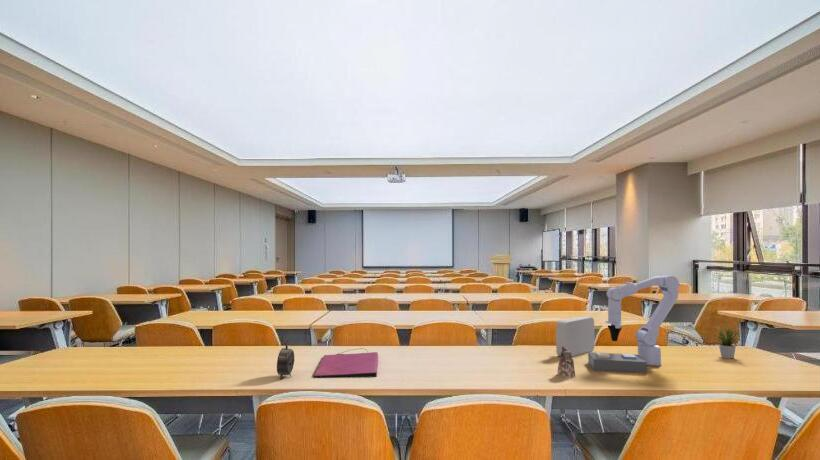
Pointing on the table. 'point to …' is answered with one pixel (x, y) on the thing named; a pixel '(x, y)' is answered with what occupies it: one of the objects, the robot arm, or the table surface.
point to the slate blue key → (628, 356)
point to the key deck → (617, 363)
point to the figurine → (566, 364)
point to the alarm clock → (285, 361)
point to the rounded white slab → (575, 335)
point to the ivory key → (603, 355)
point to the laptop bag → (348, 365)
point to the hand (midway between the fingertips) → (614, 340)
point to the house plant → (727, 343)
